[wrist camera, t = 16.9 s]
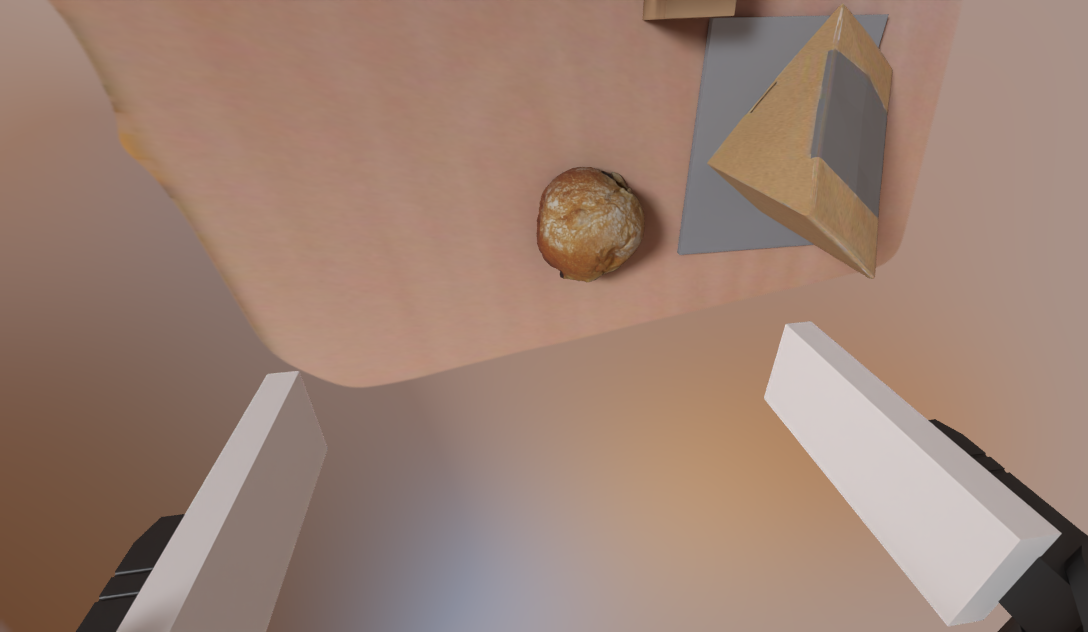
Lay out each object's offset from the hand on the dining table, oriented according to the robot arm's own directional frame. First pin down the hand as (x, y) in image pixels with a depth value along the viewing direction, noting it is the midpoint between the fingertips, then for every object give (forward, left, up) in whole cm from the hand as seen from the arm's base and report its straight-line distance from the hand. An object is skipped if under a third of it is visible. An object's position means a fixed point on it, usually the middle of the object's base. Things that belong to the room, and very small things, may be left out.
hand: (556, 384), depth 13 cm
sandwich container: (-1, +27, -31) cm, 41 cm away
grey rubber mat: (+1, +25, -32) cm, 40 cm away
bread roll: (+7, +8, -32) cm, 34 cm away
